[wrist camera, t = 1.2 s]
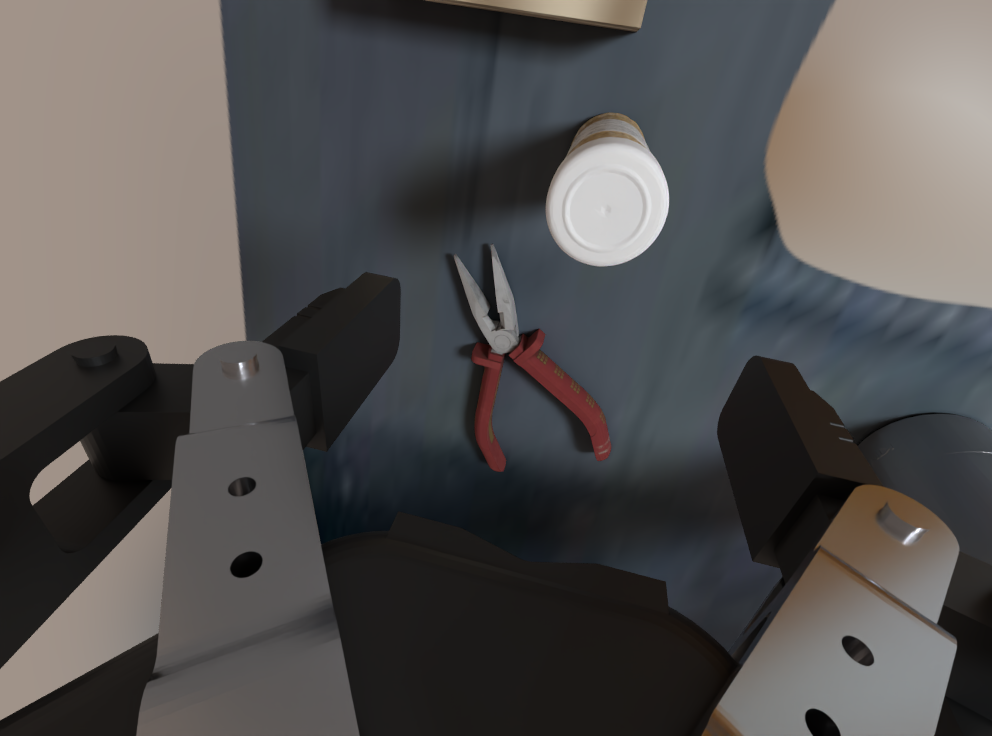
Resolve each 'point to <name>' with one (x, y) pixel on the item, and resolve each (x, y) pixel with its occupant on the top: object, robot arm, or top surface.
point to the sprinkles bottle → (607, 194)
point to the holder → (569, 10)
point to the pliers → (527, 357)
